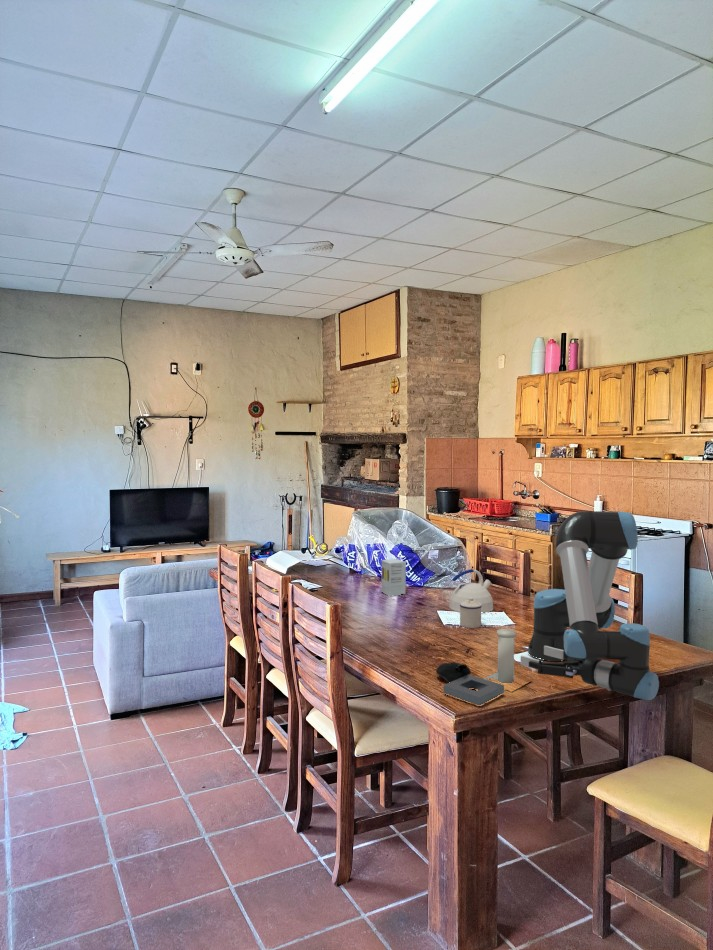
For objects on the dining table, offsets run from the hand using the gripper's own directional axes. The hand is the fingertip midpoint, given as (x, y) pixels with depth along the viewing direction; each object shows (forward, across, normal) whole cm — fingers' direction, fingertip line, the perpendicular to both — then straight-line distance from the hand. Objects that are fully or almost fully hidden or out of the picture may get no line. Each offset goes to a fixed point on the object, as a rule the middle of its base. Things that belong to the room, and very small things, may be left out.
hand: (533, 654), depth 199 cm
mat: (+10, 0, -11) cm, 15 cm away
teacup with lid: (+56, +44, -11) cm, 73 cm away
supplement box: (+114, +61, -11) cm, 130 cm away
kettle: (+72, +67, -11) cm, 99 cm away
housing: (+10, -16, -11) cm, 22 cm away
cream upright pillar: (+10, 0, -11) cm, 15 cm away
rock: (+23, -10, -12) cm, 27 cm away
